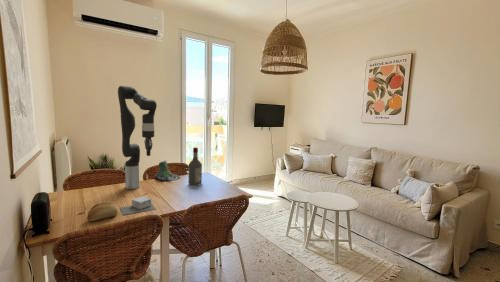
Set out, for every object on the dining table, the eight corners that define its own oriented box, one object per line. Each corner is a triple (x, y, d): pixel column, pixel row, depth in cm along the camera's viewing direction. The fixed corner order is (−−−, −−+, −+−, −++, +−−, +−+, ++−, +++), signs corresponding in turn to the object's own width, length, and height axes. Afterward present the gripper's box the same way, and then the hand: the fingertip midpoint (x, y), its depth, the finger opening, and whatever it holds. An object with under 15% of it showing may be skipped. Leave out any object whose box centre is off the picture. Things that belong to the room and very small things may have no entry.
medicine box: (131, 206, 153) (140, 209, 148) (131, 199, 152) (140, 202, 148) (142, 202, 160) (151, 205, 155) (142, 195, 159) (151, 198, 155)
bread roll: (84, 219, 134) (83, 205, 133) (113, 211, 145) (113, 198, 144) (90, 225, 128) (89, 210, 127) (120, 216, 139) (120, 203, 138)
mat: (119, 207, 150) (119, 207, 150) (151, 202, 161) (151, 202, 161) (122, 215, 141) (122, 214, 141) (155, 209, 151) (155, 208, 151)
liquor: (202, 183, 206) (203, 147, 202) (197, 186, 198) (197, 149, 194) (192, 181, 209) (193, 146, 205) (187, 184, 200) (187, 148, 196)
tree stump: (178, 182, 208) (173, 161, 204) (154, 187, 206) (148, 167, 203) (181, 175, 226) (176, 156, 222) (159, 179, 224) (154, 161, 221)
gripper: (156, 130, 160) (156, 157, 163) (151, 128, 171) (151, 153, 173) (144, 131, 156) (144, 158, 158) (140, 129, 167) (140, 154, 169)
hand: (148, 155), depth 166 cm, fingers closed
